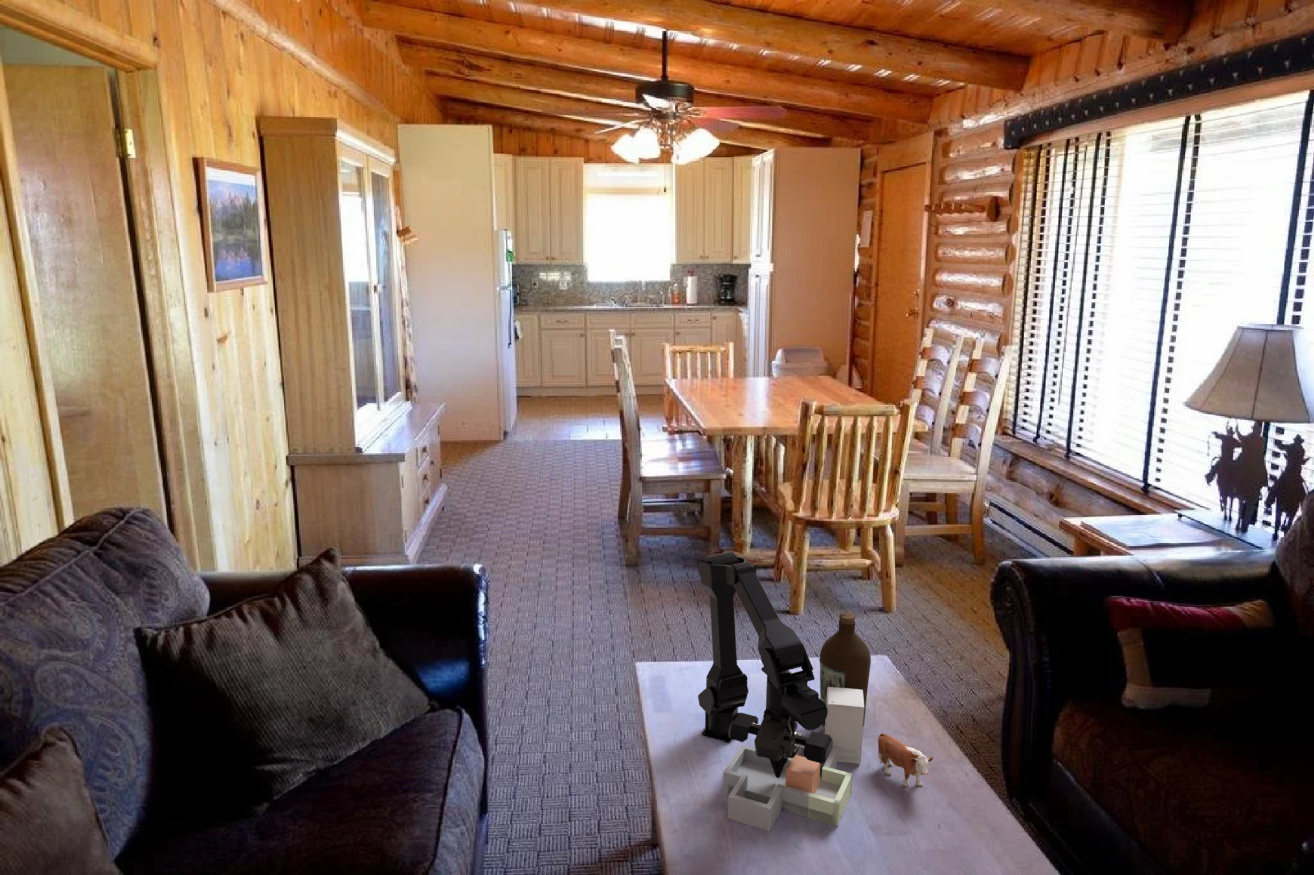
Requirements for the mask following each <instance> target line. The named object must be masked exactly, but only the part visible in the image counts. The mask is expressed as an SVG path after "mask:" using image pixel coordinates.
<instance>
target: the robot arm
mask: <svg viewBox="0 0 1314 875" xmlns="http://www.w3.org/2000/svg"><path fill="white" fill-rule="evenodd" d="M697 566H698V567H697V568H698V570H697V571H698V574H699V577H700V584H701V586H702V587H703V589H704V590H705V592H706V593H707V594H708V595H709V596H708V597H709V605H710V621H711V622H710V624H711V627H710V628H711V643H712V662H713V663H712V665H711V667H710V669H709V671H708V673H707V675H706V676H705V677H706V679H705V680H706V681H705V689H703V690H702V691H701V692H700V693H699V694H697V699H698V706H699V707H700V708H701V709H702V710H703V711H704V715H705V716H704V730H702V733H701V736H702V737H705V738H710V739H713V740H717V741H721V742H723V743H724V742H725V743H729V744H730V743H732V741H737V742H740V743H744V742H745V741H747V740H748V738H749V735H753V736H755V738H754V739H753V740H754V742H753V743H754V748H755V751H756V755H757V756H759V757H765V758H768V759H769V760H770V762H771V765H772V768H773V770H774V773H775V776H776V778H780V776H781V774H782V772H783V770H784V767H785V765H786V763H787V760H788V758H794V757H795V756H796V754H797V752H798V750H799V749H800V748H803V749H804V754H803V755H804V756H805V757H806V759H807V760H810V761H814V762H818V763H825V762H826V760H827V758H828V756H829V754H830V752H831V750H832V748H833V740H832V738H831V736H830V735H827V734H825V733H822V732H818V731H815V730H817V729H818V728H820V727H822V726H823V725H822V724H823V723H824V721H825V720H826V717H827V713H828V709H827V707H826V704H825V703H824V702H823V701H822V700H821V699H820V694H819V691H817V690H816V689H813V688H811V687H810V686H809V685H808V682H812V681H815V675H814V672H813V670H814V667H813V665H812V663H811V660H810V658H809V656H808V653H807V650H806V647H805V644H803V642H802V640H801V639H800V637H799V636H798V635H797V633H796V632H795V630H794V629H793V628H791V627H789V626H788V625H786V624H785V623H783V622H782V620H781V619H780V617H779V615H778V613H777V611H776V610H775V608H774V606H773V604H772V601H771V600H770V599H769V596H768V595H767V593H766V591H765V589H764V587H763V586H762V584H761V581H760V579H759V578H758V575H757V570H756V567H755V565H754V564H753V563H752V562H749V561H748V560H747V558H746V557H742V556H738V555H736V554H735V553H734V552H733V551H727V552H721V553H716V554H710V555H705V556H703V557H702V558H701V559H700V561H699V564H698V565H697ZM736 594H737V597H738V599H739V601H740V603H741V604H742V607H743V608H744V610H745V612H746V614H747V616H748V618H749V620H750V622H751V624H752V625H753V627H754V629H755V632H756V634H757V637H758V643H757V651H758V653H759V656H760V660H761V664H762V667H761V668H760V669H761V671H762V672H763V673H764V674H765V675H766V689H765V690H766V694H765V696H766V697H765V709H764V710H763V715H762V717H763V718H762V721H761V723H759V718H758V716H756V715H752V714H748V713H744V712H739V708H742V707H745V704H746V701H747V698H748V694H749V687H748V676H747V674H746V673H744V672H743V671H742V669H741V668H740V666H739V665H738V657H737V653H738V652H737V638H736V637H737V636H736V620H735V619H736V618H735V617H736V615H735V598H734V597H735V595H736ZM798 668H801V670H800V671H795V672H792V671H790V670H794V669H795V670H796V669H798ZM798 725H799V726H801V727H802V728H803V729H804V730H805V731H811V732H810V734H809V735H808V737H807V736H803V735H802V733H801V732H798V731H797V729H798Z"/></svg>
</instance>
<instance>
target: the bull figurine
mask: <svg viewBox="0 0 1314 875" xmlns="http://www.w3.org/2000/svg"><path fill="white" fill-rule="evenodd" d="M877 745H878V746H877V747H878V749H877V750H878V754H877V755H878V759H879V760H878V761H879V762H880V764H883V767H884V768H883V772H885V775H886V776H887V777H889V776H891V775H892V773H891V770H890V769H889V767H893V765H894V766H896V767H899V768H901V769H902V770H903V771H904V778H903V780H902V784H903V787H905V788H909V786H910V785H909V782H908V780H909V778H910V775H911V776H913V777H915V783H916V786H917V787H919V788H921V787H923V783H922V781H921V779H920V776H928V775H929V772H928V765H929V762H932V761H933V760H934V757H933V756H930V757H928V758H927V756H926V755H924V754H923V753H922V751H920V750H917V749H916V748H913V747H910V746H908V745H906V744H905V743H903V742H902V741H900V740H899V739H897V738H895V737H893V736H891V735H889V734H886V733H884V732H882V733H880V734H879V736H878V739H877Z"/></svg>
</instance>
